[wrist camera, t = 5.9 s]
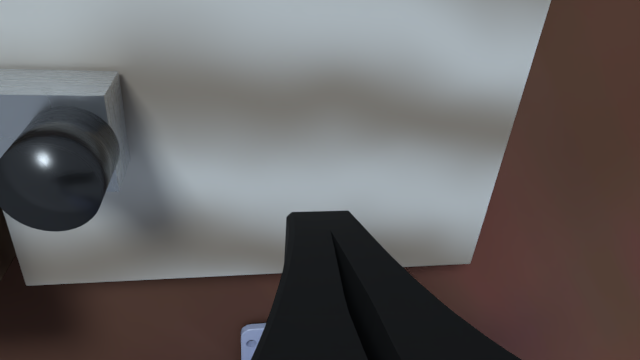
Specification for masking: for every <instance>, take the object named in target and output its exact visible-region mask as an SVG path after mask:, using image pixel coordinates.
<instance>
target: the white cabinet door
mask: <svg viewBox="0 0 640 360" xmlns="http://www.w3.org/2000/svg"><path fill="white" fill-rule="evenodd" d="M550 2H551V0H0V69H38V70H83V71H118V72H119V79H120V86H121V94H122V101H123V108H124V115H125V122H126V129H127V137H128V144H129V151H130V158H131V160H130V162H129V165H128V168H127V171H126V174H125V176H124V179H123V182H122V185H121V188H120V190H119V192H106V193H105V195H104V198H103V200H102V203H101V205H100V208H99V210H98V212H97V213H96V215H95V216H94V217H93V218H92V219H91V220H90V221H89V222H87V223H86V224H84V225H82V226H80V227H78V228H75V229H72V230H67V231H58V232H55V231H43V230H38V229H34V228H31V227H28V226H26V225H24V224H22V223H20V222H18V221H16V220H15V219H13V218H11V217H10V216H9V215H8V214H7V213H5V212H4V211H3V210H2V209H1V207H0V281H1V279H2V278H3V276H4V274H5V272H6V271H7V269H8V267H9V265H10V264H11V262H12V260H13V259H14V257H15V255H17V258H18V261H19V264H20V267H21V271H22V274H23V277H24V280H25V283H26V286H32V285H52V284H72V283H92V282H112V281H132V280H152V279H172V278H193V277H213V276H233V275H253V274H273V273H282V271H283V267H284V255H285V236H286V217H287V216H288V215H289V214H290V213H292V212H311V211H349V212H350V213H351V214H352V215H353V216H354V217H355V218H356V219H357V220H358V221H359V222H360V223H361V224H362V225H363V227H364V228H365V229H366V230H367V231H368V232H369V233H370V234H371V235H372V236H373V237H374V238H375V239H376V240H377V242H378V243H379V244H380V245H381V246H382V247H383V248H384V249H385V250H386V251H387V252H388V253H389V254H390V255H391V256H392V257H393V258H394V259H395V260H396V261H397V262H398V263H399V264H400V265H401V266H402V267H413V266H433V265H453V264H470V263H471V259H472V256H473V253H474V250H475V246H476V243H477V240H478V237H479V233H480V230H481V227H482V224H483V220H484V217H485V214H486V211H487V207H488V204H489V201H490V198H491V194H492V191H493V188H494V184H495V181H496V178H497V175H498V171H499V168H500V165H501V162H502V158H503V155H504V152H505V149H506V145H507V142H508V139H509V136H510V132H511V129H512V126H513V123H514V119H515V116H516V113H517V110H518V106H519V103H520V100H521V97H522V93H523V90H524V87H525V83H526V80H527V77H528V74H529V70H530V67H531V64H532V61H533V57H534V54H535V51H536V48H537V44H538V41H539V38H540V35H541V31H542V28H543V25H544V22H545V18H546V15H547V12H548V9H549V5H550Z"/></svg>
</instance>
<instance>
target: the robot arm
mask: <svg viewBox="0 0 640 360" xmlns="http://www.w3.org/2000/svg"><path fill="white" fill-rule="evenodd" d="M249 340H253V341H249ZM241 360H521V359H519V358H518V357H516V356H515V355H513V354H512V353H510V352H509V351H507V350H505V349H504V348H502V347H501V346H499V345H498V344H496V343H495V342H494V341H492V340H491V339H489V338H488V337H486V336H485V335H484V334H482V333H481V332H480V331H478V330H477V329H475V328H474V327H473V326H471V325H470V324H469V323H467V322H466V321H465V320H463V319H462V318H461V317H459V316H458V315H457V314H455V313H454V312H453V311H452V310H450V309H449V308H448V307H447V306H445V305H444V304H443V303H442V302H441V301H439V300H438V299H437V298H436V297H435V296H434V295H433V294H431V293H430V292H429V291H428V290H427V289H426V288H425V287H423V286H422V285H421V284H420V283H419V282H418V281H417V280H416V279H414V278H413V277H412V276H411V275H410V274H409V273H408V272H407V271H406V270H405V269H404V268H403V267H402V266H401V265H400V264H399V263H398V262H397V261H396V260H395V259H394V258H393V257H392V256H391V255H390V254H389V253H388V252H387V251H386V250H385V249H384V248H383V247H382V246H381V245H380V244H379V243H378V242H377V240H376V239H375V238H374V237H373V236H372V235H371V234H370V233H369V232H368V231H367V230H366V229H365V228H364V227H363V225H362V224H361V223H360V222H359V221H358V220H357V219H356V218H355V217H354V216H353V215H352V214H351V213H350V212H349V211H311V212H292V213H290V214H289V215H288V216H287V217H286V236H285V255H284V267H283V271H282V276H281V280H280V283H279V286H278V290H277V293H276V296H275V299H274V302H273V306H272V309H271V312H270V314H269V317H268V320H267V323H260V324H249V325H246V326H244V327H243V328H242V330H241Z"/></svg>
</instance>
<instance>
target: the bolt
mask: <svg viewBox="0 0 640 360" xmlns="http://www.w3.org/2000/svg"><path fill="white" fill-rule="evenodd" d="M130 160H131V158H130V151H129V144H128V137H127V129H126V122H125V115H124V108H123V101H122V94H121V86H120V79H119V72H118V71H83V70H38V69H0V207H1V209H2V210H3V211H4V212H5V213H7V214H8V215H9V216H10V217H11V218H13V219H15V220H16V221H18V222H20V223H22V224H24V225H26V226H28V227H31V228H34V229H38V230H43V231H55V232H58V231H67V230H72V229H75V228H78V227H80V226H82V225H84V224H86V223H87V222H89V221H90V220H91V219H92V218H93V217H94V216H95V215H96V213H97V212H98V210H99V208H100V205H101V203H102V200H103V198H104V195H105V193H106V192H119V190H120V188H121V185H122V182H123V179H124V176H125V174H126V171H127V168H128V165H129V162H130Z"/></svg>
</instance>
